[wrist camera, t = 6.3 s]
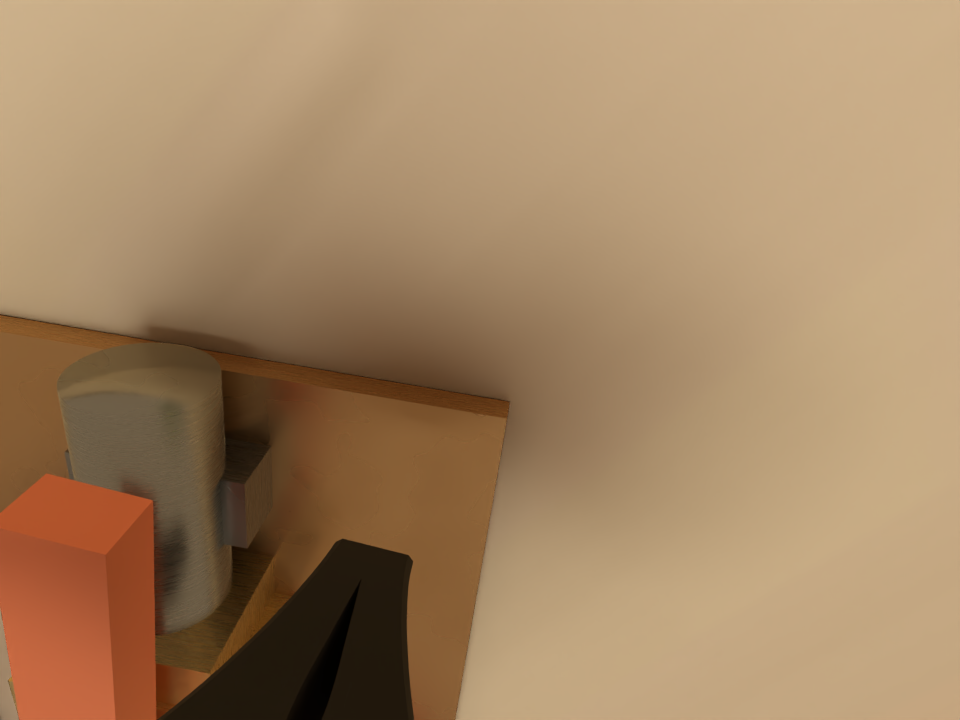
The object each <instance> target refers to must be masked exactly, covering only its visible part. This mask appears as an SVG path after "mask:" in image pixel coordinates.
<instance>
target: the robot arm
mask: <svg viewBox="0 0 960 720" xmlns="http://www.w3.org/2000/svg"><path fill="white" fill-rule="evenodd" d="M412 565H413V560H412V559H411V558H410V556H409V555H407V554H403V553H399V552H395V551H391V550H387V549H383V548H379V547H375V546H371V545H367V544H363V543H359V542H355V541H351V540H347V539H341V540H338V541H336V542H335V544H334V545H333V546H332V548H331V549H330V551H329V552H328V553H327V555H326V556H325V557H324V559H323V560H322V561H321V563H320V564H319V565H318V566H317V568H316V569H315V570H314V571H313V572H312V574H311V575H310V576H309V577H308V578H307V580H306V581H305V582H304V583H303V584H302V585H301V586H300V588H299V589H298V590H297V591H296V592H295V593H294V594H293V595H292V597H291V598H290V599H289V600H288V601H287V602H286V603H285V604H284V605H283V606H282V607H281V608H280V609H279V610H278V611H277V612H276V614H275V615H274V616H273V617H272V618H271V619H270V620H269V621H268V622H267V623H266V624H265V625H264V626H263V627H262V628H261V629H260V630H259V631H258V632H257V633H256V634H255V635H254V636H253V637H252V638H251V639H250V640H249V641H248V642H246V643H245V644H244V645H243V646H242V647H241V648H240V649H239V650H238V651H237V652H236V653H235V654H234V655H233V656H232V657H231V658H230V659H229V660H228V661H226V662H225V663H224V664H223V665H222V666H221V667H220V668H219V669H218V670H216V671H215V672H214V673H213V674H212V675H211V676H210V677H209V678H207V679H206V680H205V681H204V682H203V683H202V684H200V685H199V686H198V687H197V688H196V689H195V690H193V691H192V692H191V693H190V694H188V695H187V696H186V697H185V698H184V699H182V700H181V701H180V702H179V703H178V704H176V705H175V706H174V707H173V708H171V709H170V710H169V711H168V712H166V713H165V714H164V715H162V716H161V717H160V718H158V719H157V720H414V714H413V706H412V697H411V688H410V677H409V663H408V644H407V600H408V587H409V579H410V574H411V569H412Z"/></svg>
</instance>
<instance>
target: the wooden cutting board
mask: <svg viewBox="0 0 960 720" xmlns="http://www.w3.org/2000/svg"><path fill="white" fill-rule="evenodd" d="M509 403H510V402H508V401H502V400H496V399H490V398H484V397H478V396H472V395H467V394H461V393H455V392H449V391H443V390H437V389H431V388H425V387H420V386H414V385H408V384H402V383H396V382H390V381H384V380H378V379H373V378H367V377H361V376H355V375H349V374H343V373H337V372H331V371H326V370H320V369H314V368H308V367H302V366H296V365H290V364H285V363H279V362H273V361H267V360H261V359H255V358H249V357H243V356H238V355H232V354H226V353H220V352H214V351H208V350H202V349H196V348H193V347H189V346H185V345H180V344H172V343H161V342H155V341H149V340H144V339H138V338H132V337H126V336H120V335H114V334H108V333H102V332H97V331H91V330H85V329H79V328H73V327H67V326H61V325H56V324H50V323H44V322H38V321H32V320H26V319H20V318H14V317H9V316H3V315H0V513H1V512H2V511H3V510H4V509H5V508H7V507H8V506H9V505H10V504H11V503H12V502H14V501H15V500H16V499H17V498H18V497H19V496H21V495H22V494H23V493H24V492H25V491H26V490H28V489H29V488H30V487H31V486H32V485H33V484H35V483H36V482H37V481H38V480H39V479H40V478H42V477H43V476H44V475H45V474H46V473H47V474H51V475H55V476H59V477H63V478H67V479H71V480H75V481H79V482H82V483H86V484H90V485H94V486H98V487H102V488H106V489H110V490H114V491H118V492H122V493H126V494H130V495H134V496H138V497H142V498H146V499H150V500H153V523H154V593H155V664H156V720H157V719H158V718H160V717H161V716H162V715H164V714H165V713H166V712H168V711H169V710H170V709H171V708H173V707H174V706H175V705H176V704H178V703H179V702H180V701H181V700H182V699H184V698H185V697H186V696H187V695H188V694H190V693H191V692H192V691H193V690H195V689H196V688H197V687H198V686H199V685H200V684H202V683H203V682H204V681H205V680H206V679H207V678H209V677H210V676H211V675H212V674H213V673H214V672H215V671H216V670H218V669H219V668H220V667H221V666H222V665H223V664H224V663H225V662H226V661H228V660H229V659H230V658H231V657H232V656H233V655H234V654H235V653H236V652H237V651H238V650H239V649H240V648H241V647H242V646H243V645H244V644H245V643H246V642H248V641H249V640H250V639H251V638H252V637H253V636H254V635H255V634H256V633H257V632H258V631H259V630H260V629H261V628H262V627H263V626H264V625H265V624H266V623H267V622H268V621H269V620H270V619H271V618H272V617H273V616H274V615H275V614H276V612H277V611H278V610H279V609H280V608H281V607H282V606H283V605H284V604H285V603H286V602H287V601H288V600H289V599H290V598H291V597H292V595H293V594H294V593H295V592H296V591H297V590H298V589H299V588H300V586H301V585H302V584H303V583H304V582H305V581H306V580H307V578H308V577H309V576H310V575H311V574H312V572H313V571H314V570H315V569H316V568H317V566H318V565H319V564H320V563H321V561H322V560H323V559H324V557H325V556H326V555H327V553H328V552H329V551H330V549H331V548H332V546H333V545H334V544H335V542H336V541H338V540H341V539H347V540H351V541H355V542H359V543H363V544H367V545H371V546H375V547H379V548H383V549H387V550H391V551H395V552H399V553H403V554H407V555H409V556H410V558H411V559H412V560H413V565H412V569H411V574H410V579H409V587H408V600H407V644H408V663H409V677H410V688H411V697H412V706H413V714H414V720H455V717H456V711H457V705H458V699H459V694H460V688H461V682H462V676H463V670H464V665H465V659H466V653H467V647H468V642H469V636H470V630H471V624H472V618H473V613H474V607H475V601H476V595H477V589H478V584H479V578H480V572H481V566H482V561H483V555H484V549H485V543H486V537H487V532H488V526H489V520H490V514H491V509H492V503H493V497H494V491H495V485H496V480H497V474H498V468H499V462H500V457H501V451H502V445H503V439H504V433H505V428H506V422H507V416H508V409H509ZM8 682H9V686H10V689H11V692H12V696H13V699H14V703H15V706H16V709H17V703H16V697H15V691H14V685H13V679H12V677H11V678H10V679H9V680H8ZM17 713H18V709H17ZM18 716H19V715H18Z"/></svg>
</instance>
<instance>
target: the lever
mask: <svg viewBox="0 0 960 720" xmlns="http://www.w3.org/2000/svg"><path fill="white" fill-rule="evenodd" d="M0 608H1V614H2V620H3V626H4V632H5V638H6V644H7V650H8V656H9V661H10V667H11V673H12V679H13V685H14V691H15V697H16V703H17V709H18V715H19V720H156V664H155V593H154V523H153V500H150V499H146V498H142V497H138V496H134V495H130V494H126V493H122V492H118V491H114V490H110V489H106V488H102V487H98V486H94V485H90V484H86V483H82V482H79V481H75V480H71V479H67V478H63V477H59V476H55V475H51V474H47V473H46V474H45V475H44V476H43V477H42V478H40V479H39V480H38V481H37V482H36V483H35V484H33V485H32V486H31V487H30V488H29V489H28V490H26V491H25V492H24V493H23V494H22V495H21V496H19V497H18V498H17V499H16V500H15V501H14V502H12V503H11V504H10V505H9V506H8V507H7V508H5V509H4V510H3V511H2V512H1V513H0Z"/></svg>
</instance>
